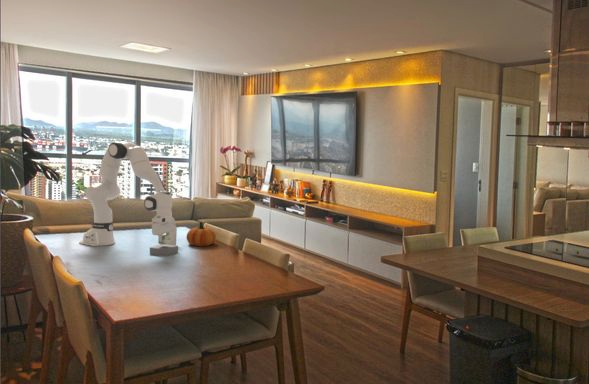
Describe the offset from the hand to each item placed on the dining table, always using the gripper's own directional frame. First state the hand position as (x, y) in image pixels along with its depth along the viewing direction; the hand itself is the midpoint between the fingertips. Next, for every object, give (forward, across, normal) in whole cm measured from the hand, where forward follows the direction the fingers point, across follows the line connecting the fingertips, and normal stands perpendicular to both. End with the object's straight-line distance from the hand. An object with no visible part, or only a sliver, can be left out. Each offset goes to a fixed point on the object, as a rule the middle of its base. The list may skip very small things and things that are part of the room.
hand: (164, 240), depth 303 cm
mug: (+8, -21, -10) cm, 25 cm away
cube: (+2, 0, 0) cm, 2 cm away
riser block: (+8, 0, 0) cm, 8 cm away
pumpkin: (+8, -33, +7) cm, 35 cm away
